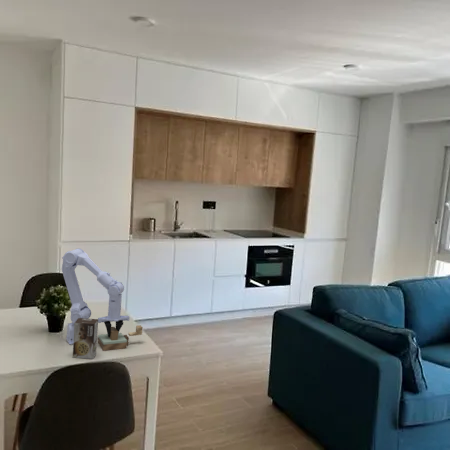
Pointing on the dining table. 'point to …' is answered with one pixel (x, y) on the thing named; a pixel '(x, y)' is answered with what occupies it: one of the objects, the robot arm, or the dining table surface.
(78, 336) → the cookie box
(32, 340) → the dining table surface
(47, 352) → the dining table surface
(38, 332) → the dining table surface
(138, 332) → the mallet
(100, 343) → the toolbox
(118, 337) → the toolbox lid
